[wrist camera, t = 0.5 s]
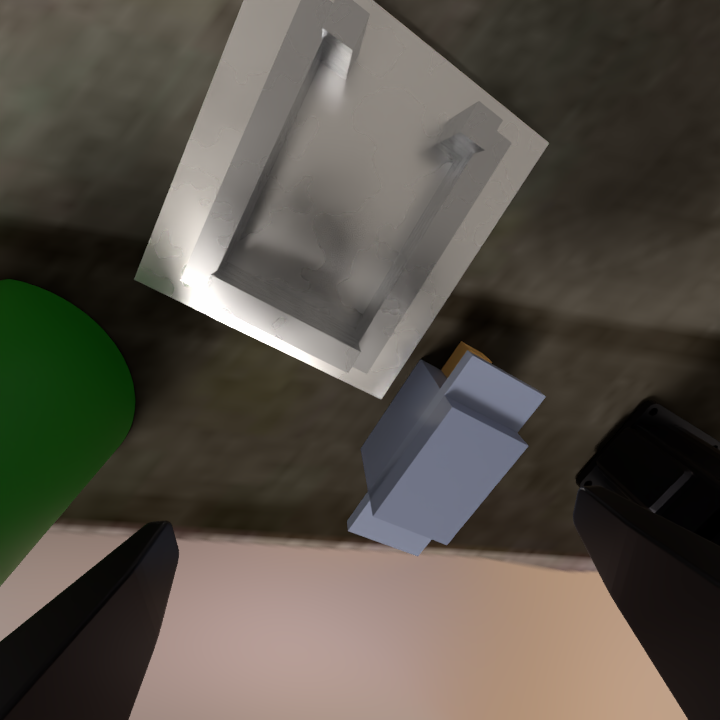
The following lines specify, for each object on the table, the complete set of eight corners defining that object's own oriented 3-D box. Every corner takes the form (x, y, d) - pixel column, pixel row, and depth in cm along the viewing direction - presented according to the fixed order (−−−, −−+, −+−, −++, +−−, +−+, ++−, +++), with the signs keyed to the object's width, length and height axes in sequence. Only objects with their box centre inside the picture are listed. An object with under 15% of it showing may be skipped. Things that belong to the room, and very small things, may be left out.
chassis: (536, 146, 17) (599, 130, 13) (378, 390, 20) (392, 432, 16) (277, -60, 13) (263, -161, 10) (143, 275, 17) (95, 295, 13)
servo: (504, 361, 20) (559, 408, 16) (401, 499, 23) (423, 573, 18) (442, 325, 19) (482, 365, 15) (342, 475, 22) (349, 548, 17)
